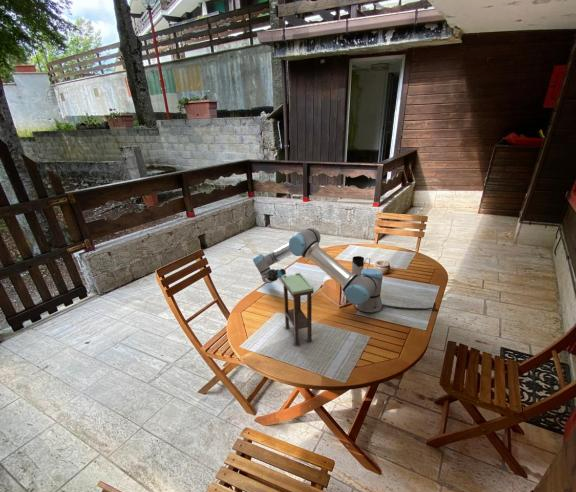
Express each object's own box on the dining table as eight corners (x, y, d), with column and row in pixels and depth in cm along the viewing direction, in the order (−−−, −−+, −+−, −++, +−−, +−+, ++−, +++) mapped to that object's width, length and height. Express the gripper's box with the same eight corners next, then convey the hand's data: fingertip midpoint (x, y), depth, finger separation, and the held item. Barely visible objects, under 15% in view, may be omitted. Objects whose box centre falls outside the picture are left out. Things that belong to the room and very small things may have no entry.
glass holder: (347, 277, 219) (349, 257, 211) (364, 273, 223) (366, 253, 216) (354, 282, 212) (356, 261, 204) (372, 278, 216) (374, 257, 209)
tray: (281, 278, 155) (281, 275, 154) (300, 274, 157) (300, 272, 157) (293, 294, 140) (292, 292, 140) (313, 290, 143) (313, 288, 142)
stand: (283, 327, 170) (281, 277, 155) (301, 323, 172) (300, 274, 157) (294, 346, 155) (292, 294, 140) (313, 342, 158) (313, 290, 143)
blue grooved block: (274, 272, 183) (273, 270, 182) (279, 271, 183) (278, 269, 183) (286, 290, 163) (286, 288, 162) (292, 289, 164) (292, 287, 163)
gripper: (284, 279, 200) (295, 275, 177) (260, 283, 196) (267, 280, 173) (282, 267, 199) (292, 262, 177) (258, 272, 195) (264, 267, 173)
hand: (280, 271), depth 175 cm, fingers closed on blue grooved block, 3 cm apart
